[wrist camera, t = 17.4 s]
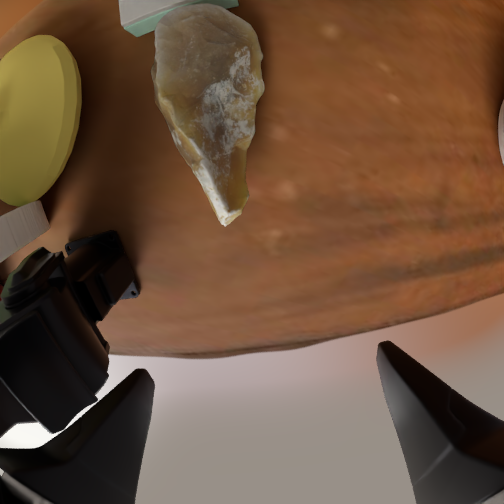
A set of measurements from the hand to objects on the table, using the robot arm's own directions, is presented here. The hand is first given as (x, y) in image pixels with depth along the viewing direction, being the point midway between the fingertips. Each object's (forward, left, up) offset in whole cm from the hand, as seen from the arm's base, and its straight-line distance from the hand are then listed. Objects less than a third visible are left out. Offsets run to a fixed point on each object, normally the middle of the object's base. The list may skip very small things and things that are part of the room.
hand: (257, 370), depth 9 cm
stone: (-1, +10, -13) cm, 17 cm away
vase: (-18, +16, -13) cm, 27 cm away
